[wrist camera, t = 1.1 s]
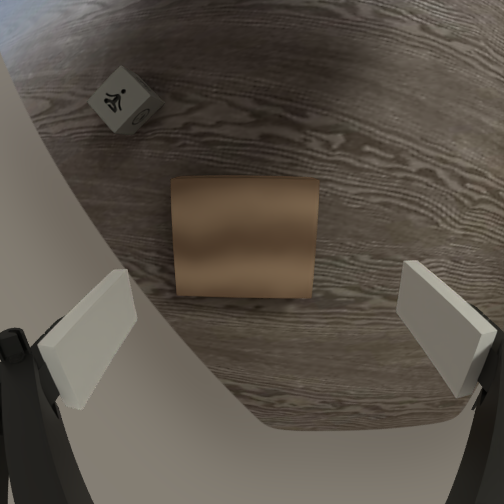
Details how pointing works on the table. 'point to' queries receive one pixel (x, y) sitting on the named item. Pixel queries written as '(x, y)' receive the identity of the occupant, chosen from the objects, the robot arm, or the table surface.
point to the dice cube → (125, 101)
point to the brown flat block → (244, 235)
